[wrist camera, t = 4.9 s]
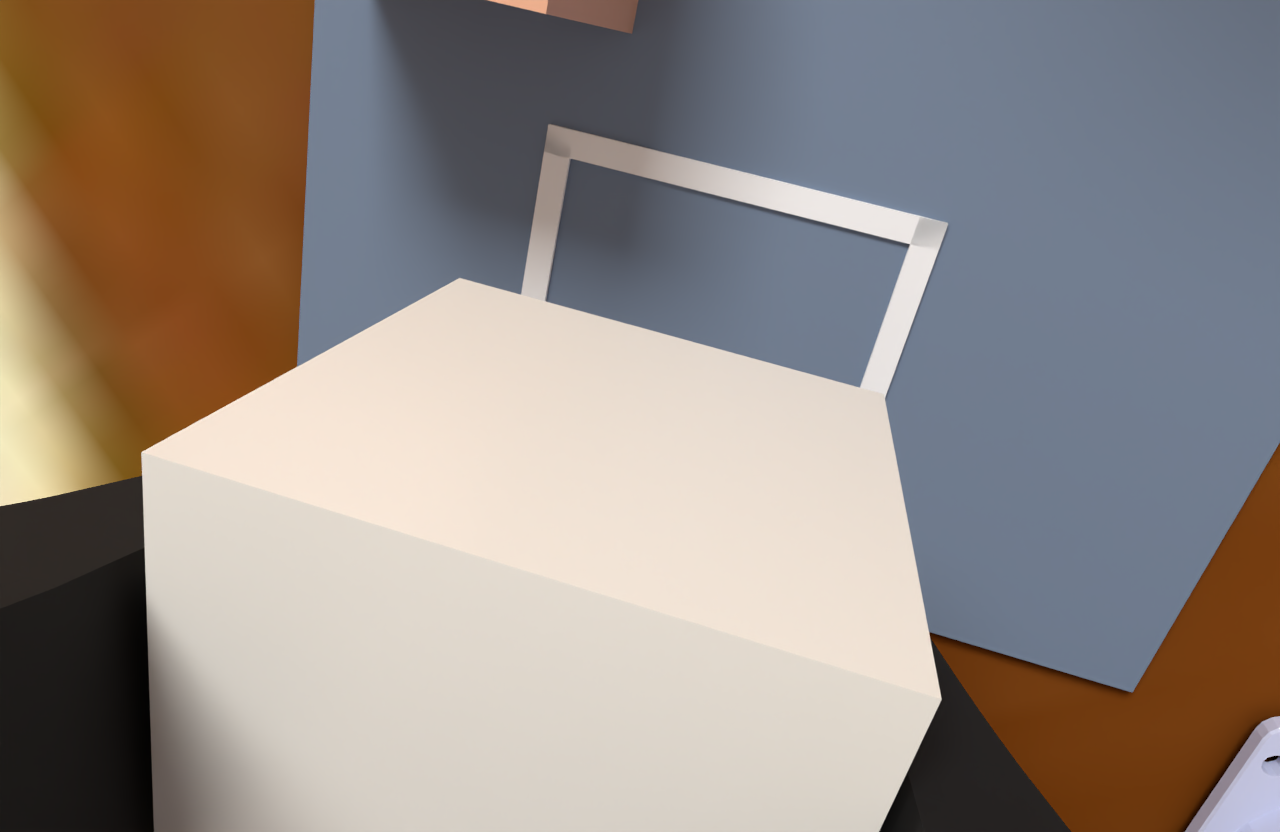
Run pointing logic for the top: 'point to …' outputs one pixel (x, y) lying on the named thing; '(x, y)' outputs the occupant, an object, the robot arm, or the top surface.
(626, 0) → the terracotta block
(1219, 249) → the mat
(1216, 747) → the top surface
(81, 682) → the robot arm
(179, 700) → the offwhite block
